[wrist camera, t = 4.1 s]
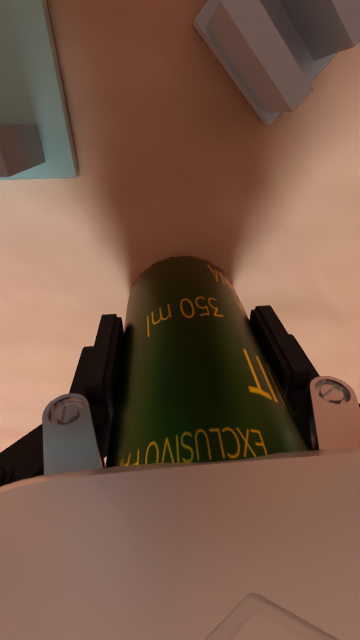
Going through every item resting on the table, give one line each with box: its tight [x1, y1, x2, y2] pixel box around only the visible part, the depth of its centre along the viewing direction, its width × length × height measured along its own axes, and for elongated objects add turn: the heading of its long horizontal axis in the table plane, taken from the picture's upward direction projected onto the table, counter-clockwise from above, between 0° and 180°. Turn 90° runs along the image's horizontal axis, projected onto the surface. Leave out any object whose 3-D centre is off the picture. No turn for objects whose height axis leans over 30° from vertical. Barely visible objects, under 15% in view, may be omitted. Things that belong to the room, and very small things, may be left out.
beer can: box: [105, 256, 311, 468], centre depth 11 cm, size 5×5×12 cm
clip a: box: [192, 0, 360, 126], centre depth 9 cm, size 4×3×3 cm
